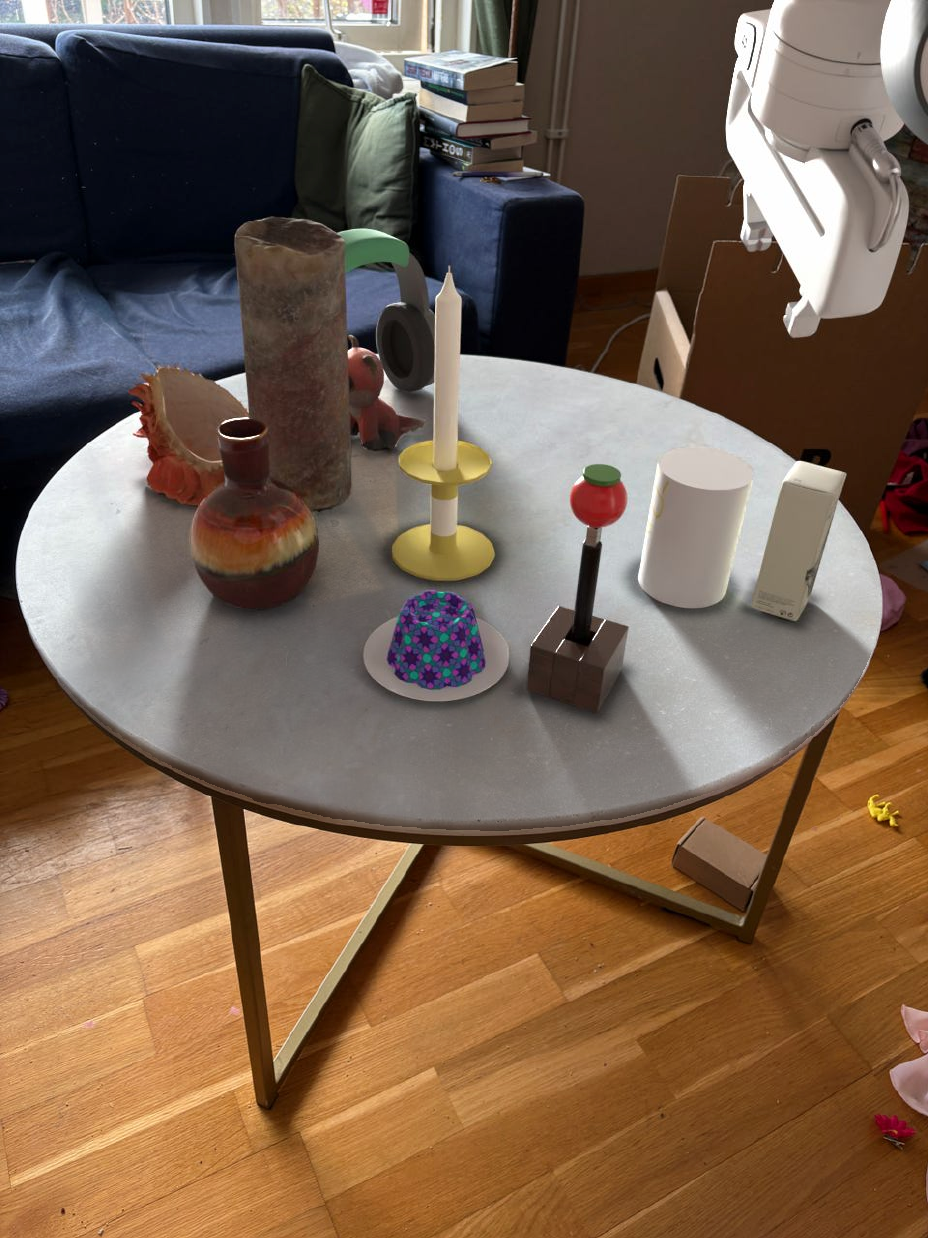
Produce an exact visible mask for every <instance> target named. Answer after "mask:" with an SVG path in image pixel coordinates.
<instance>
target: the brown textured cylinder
mask: <svg viewBox="0 0 928 1238" xmlns="http://www.w3.org/2000/svg"><path fill="white" fill-rule="evenodd" d="M338 233H339V232H336V231H334V230H332V229H331V228H329V227H328V226H326V225H324V224H323V223H320V222H317V221H313V220H311V219H305V218H300V219H298V218H293V217H287V218H286V217H281V216H278V217H277V216H269V217H266V218H262V219H255V220H253V221H247V222H244V223H243V224H242V225H240V227H238V228H237V230H236V232H235V235H234V253H235V254H234V255H235V263H236V264H235V265H236V278H237V287H238V298H239V299H238V301H239V313H240V326H241V333H242V335H241V336H242V344H243V345H242V346H243V360H244V370H245V383H246V384H245V385H246V393H247V395H246V396H247V412H248V413H249V418H251V419H256V420H260V421H262V422H264V423H265V424H266V425H267V427H268V437H269V468H270V476H271V478H273V479H276V480H278V481H280V482H282V483H284V484H286V485H288V486H289V487H290V488H292V489H293V490H294V491H296V492H297V493H298V494H299V495H300V496H301V497H302V498H303V499H304V501H305V502H306V503H307V505H308V506H309V508H310V510H311V511H312V513H313V512H316V513H321V512H323V511H328V510H332V509H335V508H337V507H339V506H341V505H343V504H344V503H345V501H347V500H348V498H349V497H350V495H351V493H352V486H353V483H352V481H353V478H352V438H351V437H352V436H351V434H350V404H349V380H348V350H349V344H348V319H347V318H348V317H347V316H348V314H347V309H348V308H347V287H346V285H347V284H346V283H347V282H346V274H345V241H344V239H343V238H342V237H341V236H340V235H339V234H338Z"/></svg>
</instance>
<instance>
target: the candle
mask: <svg viewBox="0 0 928 1238" xmlns="http://www.w3.org/2000/svg"><path fill="white" fill-rule="evenodd" d="M447 268H448V272H446V275H445V278H444V282H443V285H442V288H441V290H440V292H439V293H438V294H437V295H436V296H435V313H434V314H435V383H433V384H434V385H433V387H434V389H433V390H434V391H433V392H434V394H433V395H434V397H433V439H430V440H425V441H421V442H417V443H414V444H411V445H410V446H408V447H406V448H404V449H403V451H402V452H401V453H400V454H399V456H398V460H397V461H398V466H399V467H398V468H399V470H400V471H401V472H402V473H403V474H404V475H405V476H407V478H409V479H411V480H414V481H416V482H419V483H421V484H426V485H430V523H427V524H423V525H420V526H416V527H415V526H414V527H411V528H410V529H408V530H406V531H405V532H403V533H401V534H400V535H398V536H397V538H396V539H395V541H394V543H393V544H392V546H391V555H392V556H391V557H392V561H393V562H394V563H395V564H396V565H397V566H398V567H399V568H400V570H402V571H404V572H405V573H407V574H410V575H412V576H414V577H416V578H420V579H422V580H423V579H425V580H429V581H434V582H450V581H451V582H452V581H454V582H455V581H461V580H465V579H467V578H468V579H469V578H471V577H476V576H478V575H480V574H481V573H483V572H484V571H485V570H487V569H488V568H490V566H491V564H492V562H493V560H494V558H495V556H496V554H495V553H496V552H495V550H494V546H493V543H492V542H491V540H490V539H489V538H488V537H486V536H485V535H484V534H483V533H482V532H480V531H478V530H475V529H474V528H471V527H468V526H465V525H460V524H458V503H459V499H458V497H459V486H462V485H467V484H472V483H475V482H477V481H479V480H481V479H482V478H484V477H486V476H487V475H488V473H489V472H490V469H491V468H492V466H493V462H492V459H491V456H490V454H489V453H488V452H487V451H485V449H483V448H482V447H480V446H477V445H475V444H472V443H469V442H467V441H461V440H458V436H459V435H458V434H459V433H458V432H459V402H460V400H459V397H460V369H461V368H460V367H461V337H462V336H461V334H462V306H463V305H462V303H463V300H462V296H461V295H460V294H459V293H458V291H457V289H456V287H455V282H454V279H453V278H454V277H453V273H452V272H451V265H448V267H447Z"/></svg>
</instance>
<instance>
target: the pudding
mask: <svg viewBox="0 0 928 1238" xmlns="http://www.w3.org/2000/svg"><path fill="white" fill-rule="evenodd" d="M398 613H399V614H398V616H395V617H393V618H391V619H388V620H386V621H385V622H384V623H382V624H380V625H379V626H378V627H377V628H376V629H374V630H373V631H372V632H371V634H370V635H369V636H368V638H367V640H366V642H365V644H364V646H363V651H362V656H363V663H364V666H365V668H366V671H367V672H368V674H369V675H370V676H371V677H372V678H373V679H374V681H376V682H377V683H378V684H380V686H382V687H384V688H385V689H387V690H388V691H390V692H392V693H395V694H397V695H399V696H402V697H406V698H410V699H413V700H419V701H425V702H449V701H457V700H462V699H467V698H469V697H472V696H475V695H478V694H480V693H483V692H485V691H486V690H488V689H490V688H491V687H492V686H494V685H495V684H497V683H498V682H499V681H500V680H501V678H502V677H504V675H505V673H506V671H507V669H508V667H509V664H510V660H511V658H510V657H511V656H510V655H511V654H510V649H509V645H508V643H507V640H506V639H505V638H504V636H503V634H501V633H500V632H499V631H498V630H497V628H495V627H494V626H492V625H491V624H489V623H488V622H486V621H484V620H483V619H481V618H478V617H476V612H475V610H474V607H473V605H472V603H471V602H469V601H468V600H467V599H465V598H462V597H460V596H459V594H457V593H455V592H453V591H448V590H445V591H439V590H436V589H435V590H434V589H432V590H431V589H430V590H426V591H423V592H422V593H421V594H415V595H412V596H410V597H408V598H407V600H406V601H405V602H404V604H403V606H402V607H401V609H400V611H399V612H398Z"/></svg>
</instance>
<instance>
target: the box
mask: <svg viewBox="0 0 928 1238" xmlns="http://www.w3.org/2000/svg"><path fill="white" fill-rule="evenodd" d="M846 477H847V473H846V472H843V471H841V470H836V469H833V468H829V467H825V466H822V465H818V464H814V463H811V462H807V461H803V460H797V461H796V462H795V463H794V464H793V466H792V467H791V468H790V470H789V471H788V473H787V474H786V476H785V477H784V479H783V480H782V482H781V486H780V491H779V494H778V497H777V501H776V505H775V509H774V513H773V517H772V520H771V525H770V530H769V533H768V536H767V541H766V545H765V549H764V553H763V557H762V559H761V560H762V561H761V565H760V569H759V571H758V576H757V580H756V585H755V588H754V592H753V594H752V595H753V596H752V599H751V602H750V608H752V609H754V610H758V611H760V612H763V613H767V614H769V615H773V616H776V617H779V618H782V619H786V620H789V621H792V622H797V621H798V620H799V618H800V617H801V616H802V613H803V612H804V610H805V608H806V607H807V604H808V602H809V601H810V598H811V595H812V592H813V588H814V585H815V581H816V578H817V574H818V572H819V569H820V565H821V561H822V558H823V555H824V551H825V548H826V544H827V541H828V537H829V534H830V531H831V527H832V524H833V520H834V517H835V514H836V509H837V506H838V502H839V500H840V496H841V493H842V489H843V487H844V483H845V480H846Z"/></svg>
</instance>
